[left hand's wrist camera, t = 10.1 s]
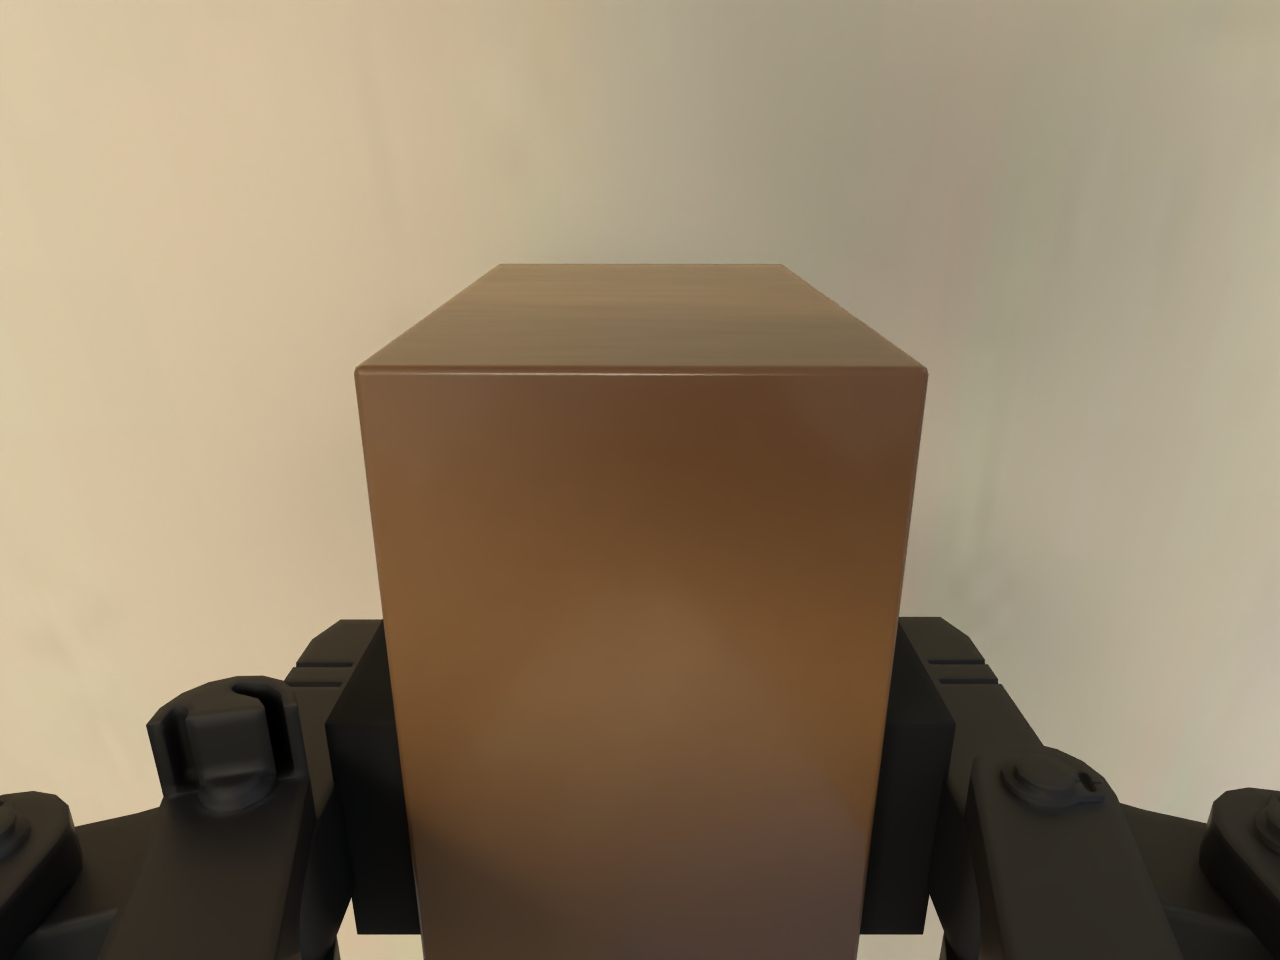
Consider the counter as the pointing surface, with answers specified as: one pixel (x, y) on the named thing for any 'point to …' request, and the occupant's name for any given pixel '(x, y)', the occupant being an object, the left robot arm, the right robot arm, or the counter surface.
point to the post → (640, 607)
